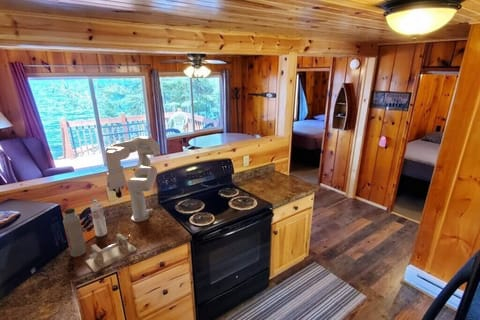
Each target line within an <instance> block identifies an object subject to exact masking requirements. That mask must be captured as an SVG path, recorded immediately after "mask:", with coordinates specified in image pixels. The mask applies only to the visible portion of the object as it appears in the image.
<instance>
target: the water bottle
mask: <svg viewBox="0 0 480 320" xmlns="http://www.w3.org/2000/svg"><path fill="white" fill-rule="evenodd" d="M90 212H91V217H92V223H93V229H94V233H95V236H96V237H99V238H101V237H104V236H106V235H107V234H108V230H107V223H106V222H107V221H106V217H105V214H104V209H103V204H102V203H101V202H99V201H98V199H93V203H92V204H91V205H90Z"/></svg>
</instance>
